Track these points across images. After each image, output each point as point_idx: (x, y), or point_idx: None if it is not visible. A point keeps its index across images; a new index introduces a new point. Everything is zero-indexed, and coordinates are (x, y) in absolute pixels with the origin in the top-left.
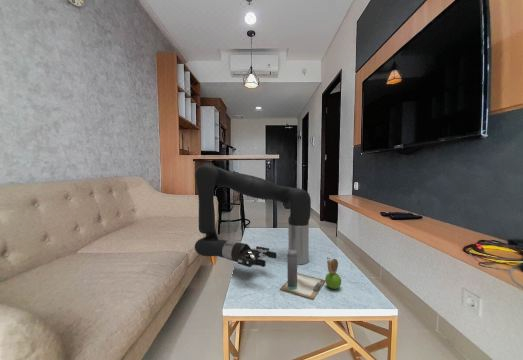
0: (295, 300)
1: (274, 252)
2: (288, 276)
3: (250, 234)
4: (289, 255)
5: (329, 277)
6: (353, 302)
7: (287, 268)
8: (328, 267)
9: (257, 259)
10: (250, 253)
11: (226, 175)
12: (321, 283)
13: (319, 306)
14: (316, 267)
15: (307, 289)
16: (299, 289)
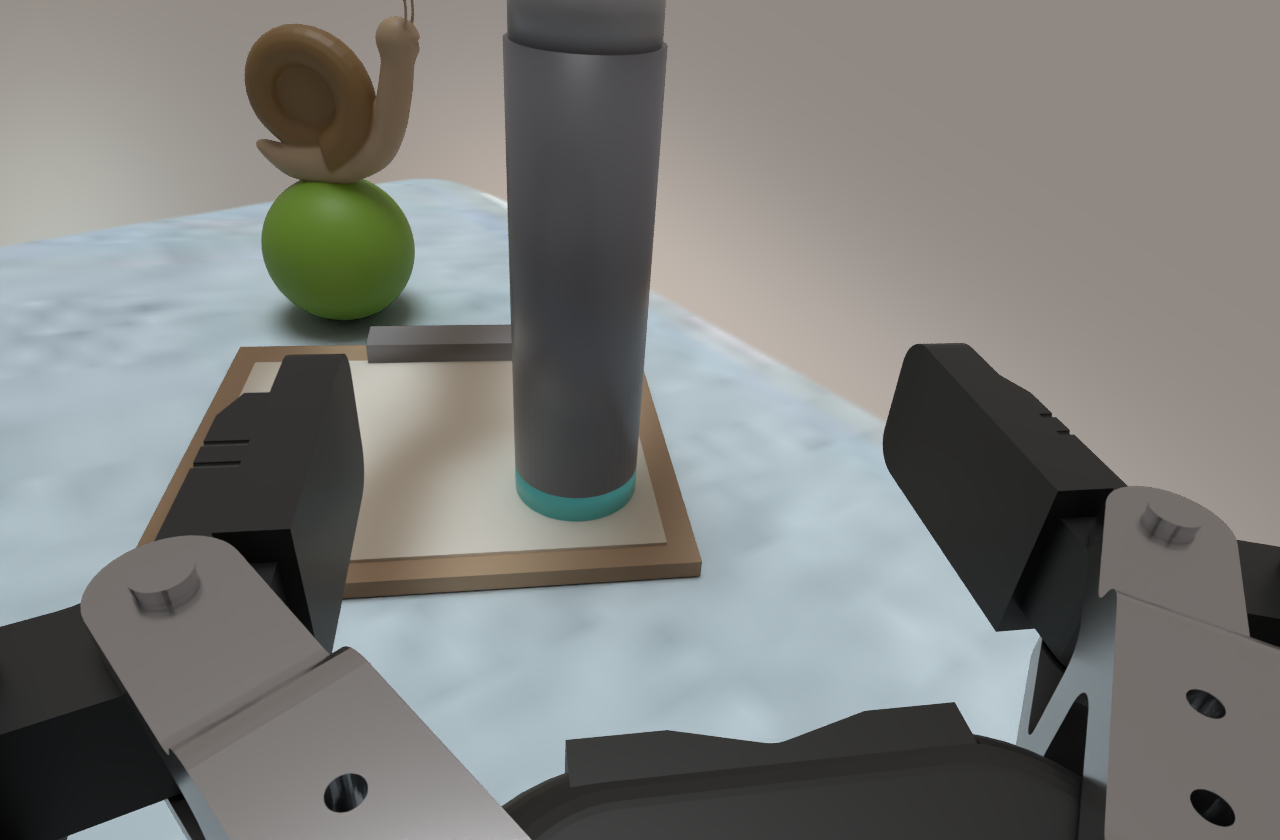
0: (741, 422)
1: (288, 376)
2: (641, 364)
3: None
4: (661, 33)
5: (387, 211)
6: (491, 241)
7: (615, 292)
8: (410, 96)
9: (1073, 453)
10: (1208, 830)
11: None
12: (371, 328)
13: (676, 320)
14: None
15: None
16: None
